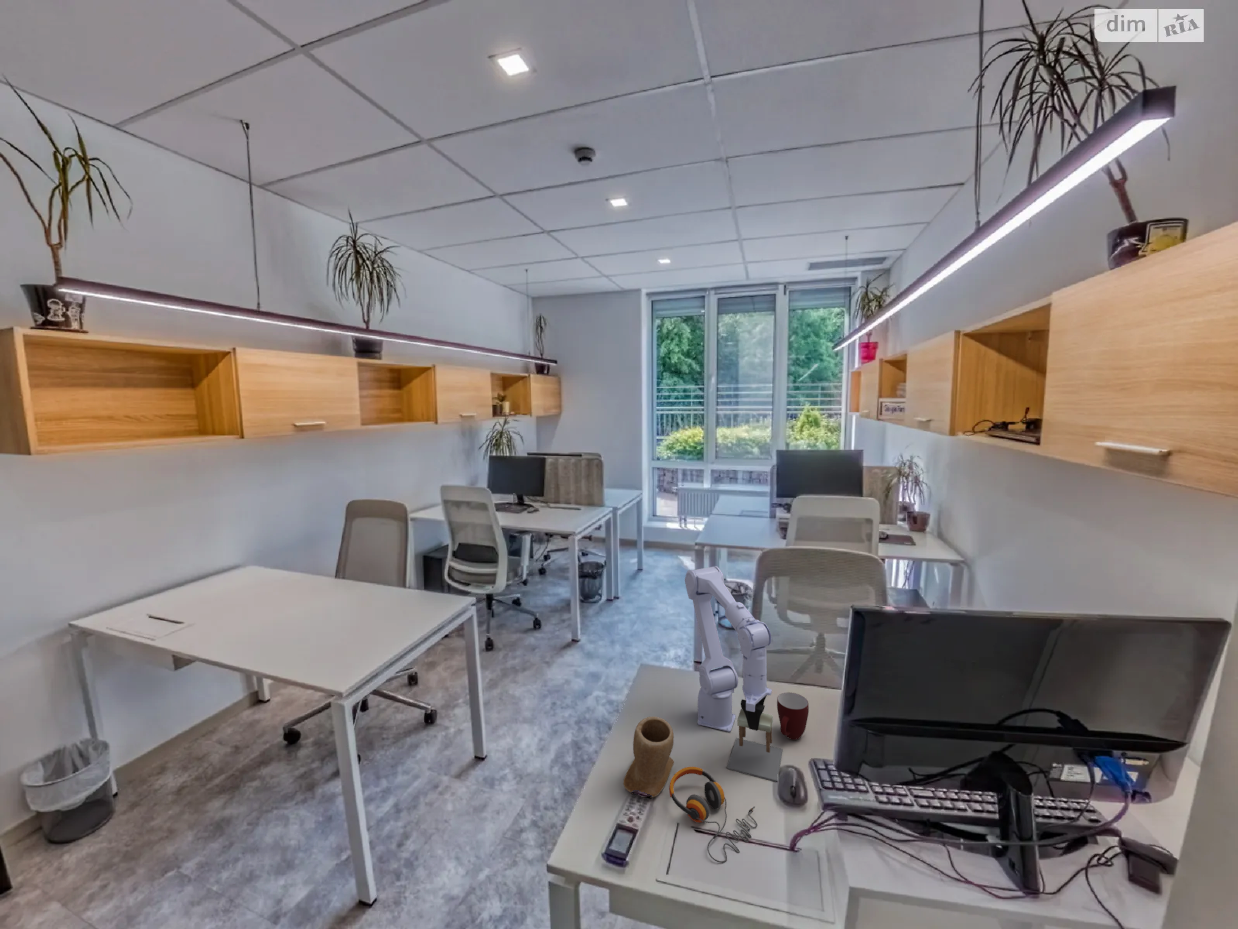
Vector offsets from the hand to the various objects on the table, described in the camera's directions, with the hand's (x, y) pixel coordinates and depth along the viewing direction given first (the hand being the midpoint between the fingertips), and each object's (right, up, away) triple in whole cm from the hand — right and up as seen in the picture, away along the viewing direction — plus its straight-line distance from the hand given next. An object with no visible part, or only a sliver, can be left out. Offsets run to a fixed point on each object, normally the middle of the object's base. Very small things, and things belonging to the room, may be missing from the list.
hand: (755, 722), depth 122 cm
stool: (0, -6, 0) cm, 6 cm away
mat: (0, -10, +1) cm, 10 cm away
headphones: (-14, -12, -16) cm, 25 cm away
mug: (+12, -9, +9) cm, 17 cm away
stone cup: (-26, -12, -4) cm, 29 cm away
